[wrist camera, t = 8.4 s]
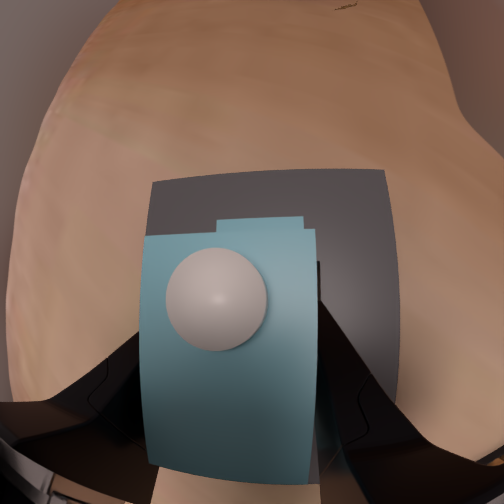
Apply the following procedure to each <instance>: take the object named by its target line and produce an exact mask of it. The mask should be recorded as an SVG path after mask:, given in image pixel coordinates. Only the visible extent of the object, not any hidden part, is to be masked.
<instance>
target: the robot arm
mask: <svg viewBox="0 0 504 504" xmlns="http://www.w3.org/2000/svg"><path fill="white" fill-rule="evenodd" d="M317 302H318V335H317V376H316V397H315V414H314V423H315V433H316V444H317V455H318V467H319V477H320V478H319V481H320V496H321V504H504V463H503V464H500V465H496V466H488V465H484V464H480V463H477V462H475V461H472V460H469V459H466V458H464V457H461V456H459V455H456V454H454V453H451V452H449V451H446V450H444V449H442V448H439V447H437V446H435V445H434V444H432V443H431V442H429V441H428V440H427V439H426V438H424V437H423V436H422V435H421V434H420V432H419V431H418V430H417V429H416V428H415V427H414V426H413V424H412V423H411V422H410V421H409V420H408V419H407V418H406V416H405V415H404V414H403V413H402V412H401V411H400V410H399V408H398V407H397V406H396V405H395V404H394V402H393V401H392V400H391V399H390V398H389V396H388V395H387V394H386V392H385V391H384V390H383V388H382V387H381V386H380V384H379V383H378V381H377V380H376V378H375V377H374V375H373V374H371V371H370V370H369V368H368V367H367V365H366V364H365V362H364V361H363V359H362V358H361V356H360V355H359V353H358V352H357V351H356V349H355V348H354V346H353V345H352V343H351V342H350V340H349V339H348V338H347V336H346V335H345V333H344V332H343V330H342V329H341V328H340V326H339V325H338V323H337V322H336V320H335V319H334V318H333V316H332V315H331V313H330V312H329V311H328V309H327V308H326V306H325V305H324V304H323V302H322V301H321V300H317ZM158 470H159V466H157V465H153V464H150V463H149V461H148V454H147V447H146V440H145V432H144V422H143V412H142V399H141V384H140V357H139V331H138V332H137V333H136V334H135V335H134V336H132V337H131V338H130V339H129V340H127V341H126V342H125V343H124V344H123V345H121V346H120V347H119V348H118V349H117V350H115V351H114V352H113V353H112V354H111V355H109V356H108V358H106V359H105V360H103V361H102V362H101V363H100V364H98V365H97V366H96V367H95V368H93V369H92V370H91V371H90V372H88V373H87V374H86V375H84V376H83V377H81V378H80V379H79V380H77V381H76V382H74V383H73V384H71V385H70V386H69V387H67V388H66V389H64V390H63V391H61V392H60V393H58V394H57V395H55V396H54V397H52V398H50V399H47V400H43V401H31V402H0V504H124V503H125V501H126V502H130V503H133V504H150V503H151V499H152V495H153V490H154V486H155V482H156V478H157V474H158Z"/></svg>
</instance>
